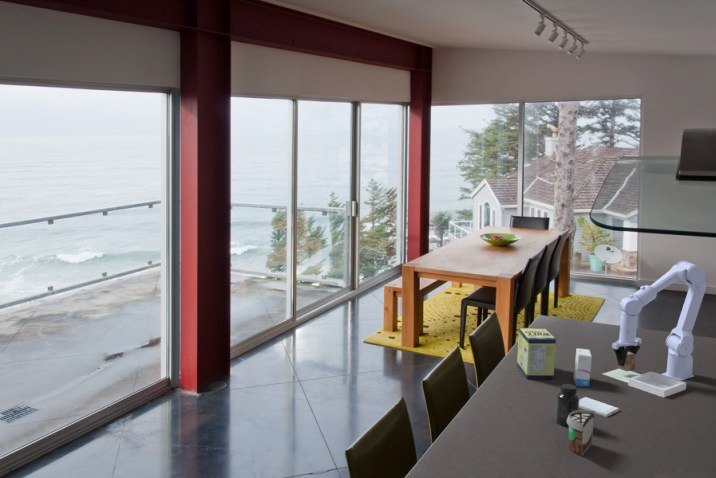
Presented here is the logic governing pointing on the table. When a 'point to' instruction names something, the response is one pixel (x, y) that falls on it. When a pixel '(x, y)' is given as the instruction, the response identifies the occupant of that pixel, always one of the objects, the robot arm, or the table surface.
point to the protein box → (536, 353)
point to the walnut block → (628, 362)
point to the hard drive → (597, 407)
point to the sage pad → (621, 374)
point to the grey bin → (657, 384)
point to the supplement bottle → (566, 403)
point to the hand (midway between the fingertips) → (625, 364)
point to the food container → (580, 430)
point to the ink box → (582, 367)
